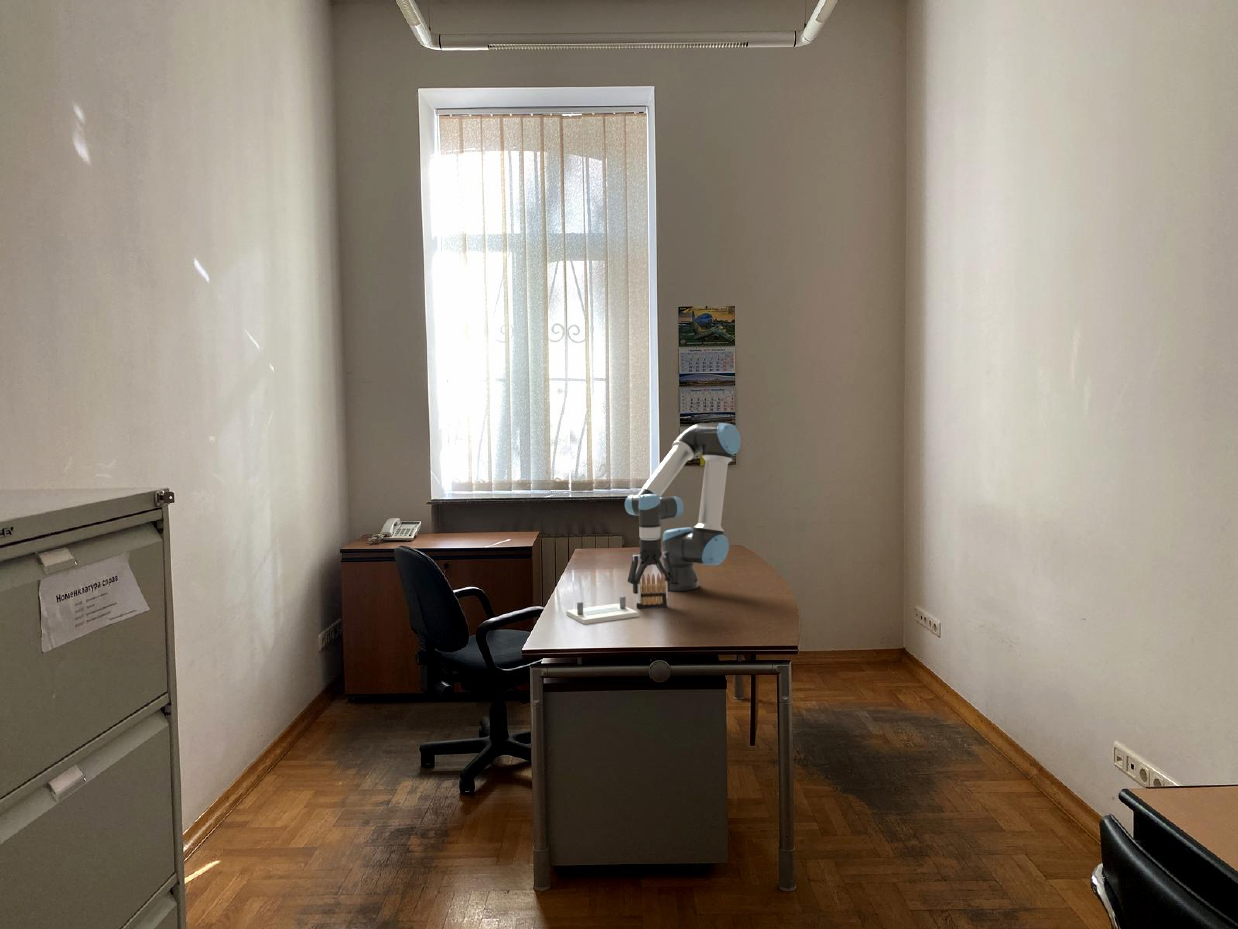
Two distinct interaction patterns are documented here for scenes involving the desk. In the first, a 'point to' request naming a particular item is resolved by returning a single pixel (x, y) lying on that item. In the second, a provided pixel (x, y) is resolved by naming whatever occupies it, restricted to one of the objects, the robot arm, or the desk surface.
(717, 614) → the desk surface
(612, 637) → the desk surface
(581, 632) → the desk surface
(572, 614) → the board
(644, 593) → the ammunition clip
